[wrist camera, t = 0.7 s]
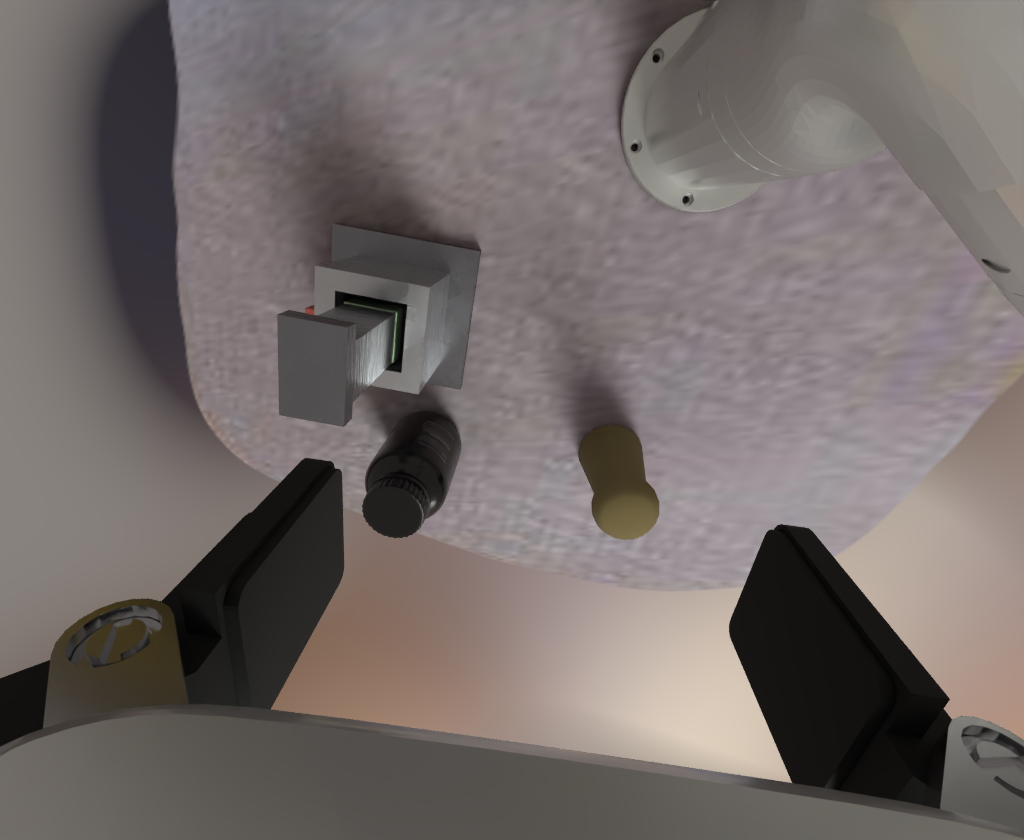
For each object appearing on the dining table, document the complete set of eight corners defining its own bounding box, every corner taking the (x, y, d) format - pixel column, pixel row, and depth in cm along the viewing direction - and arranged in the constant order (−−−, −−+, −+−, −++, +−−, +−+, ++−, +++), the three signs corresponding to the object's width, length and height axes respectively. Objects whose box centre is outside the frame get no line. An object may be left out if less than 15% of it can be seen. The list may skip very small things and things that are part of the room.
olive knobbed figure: (568, 468, 48) (575, 537, 38) (594, 415, 45) (608, 473, 35) (625, 488, 48) (646, 562, 38) (653, 437, 46) (684, 501, 36)
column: (378, 274, 40) (276, 314, 25) (423, 283, 40) (348, 327, 25) (374, 340, 42) (278, 414, 27) (416, 348, 42) (344, 426, 27)
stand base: (337, 223, 40) (283, 226, 32) (481, 250, 40) (464, 260, 32) (333, 361, 45) (285, 396, 36) (461, 385, 45) (443, 425, 37)
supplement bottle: (381, 420, 47) (332, 485, 36) (447, 400, 46) (416, 461, 35) (409, 480, 49) (371, 557, 38) (472, 463, 48) (451, 538, 37)
